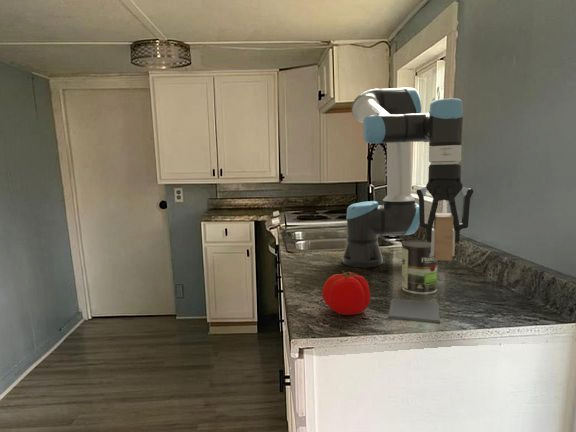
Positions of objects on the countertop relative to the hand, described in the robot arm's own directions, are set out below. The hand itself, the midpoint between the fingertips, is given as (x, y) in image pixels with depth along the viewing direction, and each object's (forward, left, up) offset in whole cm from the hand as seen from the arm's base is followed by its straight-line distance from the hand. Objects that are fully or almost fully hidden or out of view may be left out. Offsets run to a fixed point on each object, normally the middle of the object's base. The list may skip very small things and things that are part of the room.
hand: (442, 254), depth 98 cm
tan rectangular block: (0, 0, -1) cm, 1 cm away
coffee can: (-14, -6, -15) cm, 21 cm away
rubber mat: (+4, -7, -15) cm, 17 cm away
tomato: (+9, -23, -15) cm, 29 cm away
